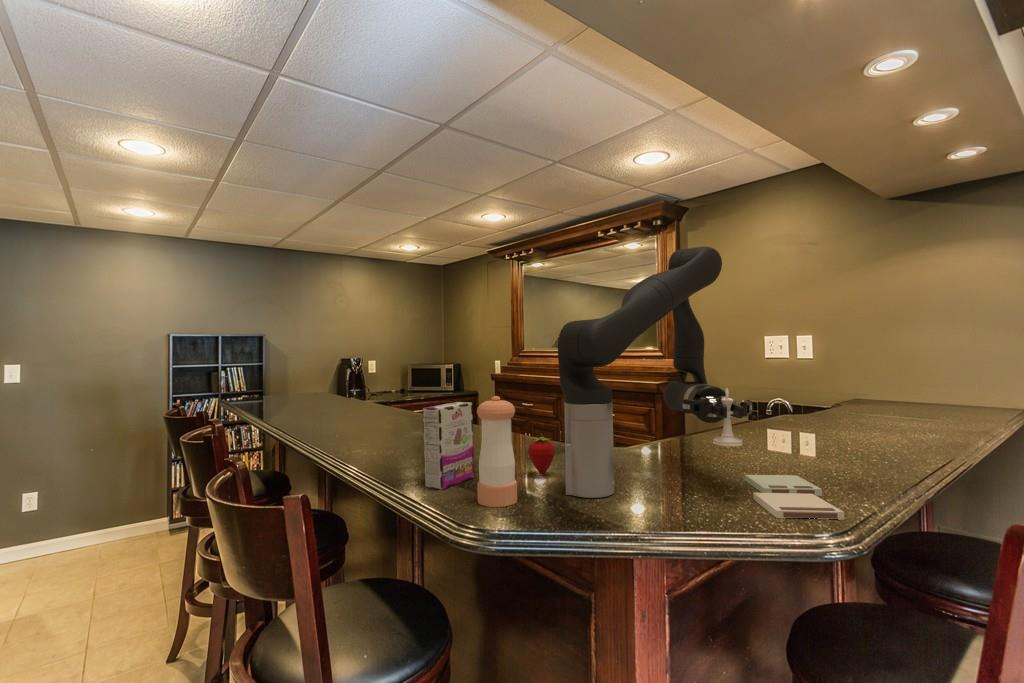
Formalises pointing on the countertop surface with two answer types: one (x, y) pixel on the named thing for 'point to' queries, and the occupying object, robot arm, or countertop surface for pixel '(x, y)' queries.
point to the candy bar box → (448, 444)
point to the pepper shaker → (496, 455)
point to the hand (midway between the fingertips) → (732, 412)
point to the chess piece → (727, 426)
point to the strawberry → (541, 453)
